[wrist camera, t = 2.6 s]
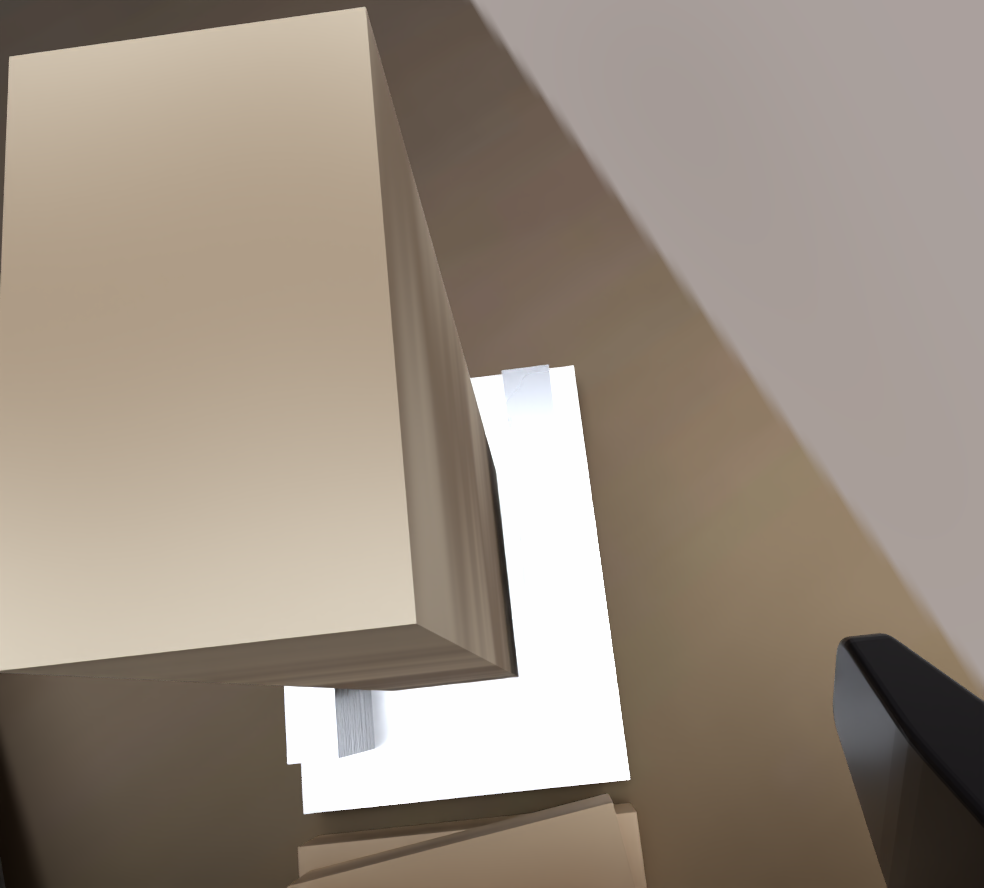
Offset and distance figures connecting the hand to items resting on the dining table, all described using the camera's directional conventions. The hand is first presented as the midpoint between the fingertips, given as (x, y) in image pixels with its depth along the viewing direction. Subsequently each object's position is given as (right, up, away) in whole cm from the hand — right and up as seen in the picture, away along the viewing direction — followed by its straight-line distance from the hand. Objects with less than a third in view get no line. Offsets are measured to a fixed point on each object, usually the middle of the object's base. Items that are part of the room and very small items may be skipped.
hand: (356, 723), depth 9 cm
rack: (0, 0, +10) cm, 10 cm away
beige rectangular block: (0, 0, +9) cm, 9 cm away
